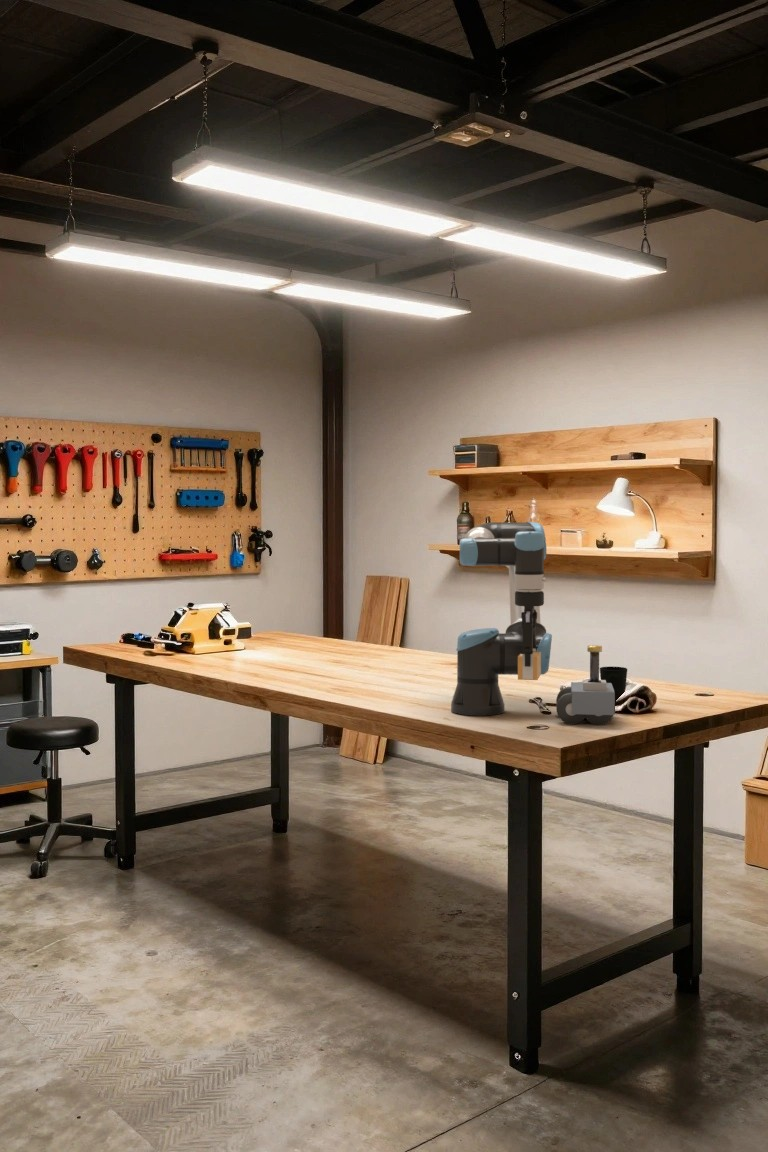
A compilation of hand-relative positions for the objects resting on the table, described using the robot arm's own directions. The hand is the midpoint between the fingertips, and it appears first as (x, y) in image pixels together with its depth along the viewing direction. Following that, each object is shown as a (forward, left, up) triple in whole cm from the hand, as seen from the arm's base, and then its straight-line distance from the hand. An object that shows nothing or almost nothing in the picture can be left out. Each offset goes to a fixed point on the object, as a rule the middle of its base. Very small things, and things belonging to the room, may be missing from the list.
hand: (529, 675), depth 270 cm
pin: (+17, +7, -4) cm, 19 cm away
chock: (0, 0, 0) cm, 0 cm away
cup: (+23, +26, -13) cm, 37 cm away
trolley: (+15, +10, -13) cm, 22 cm away
